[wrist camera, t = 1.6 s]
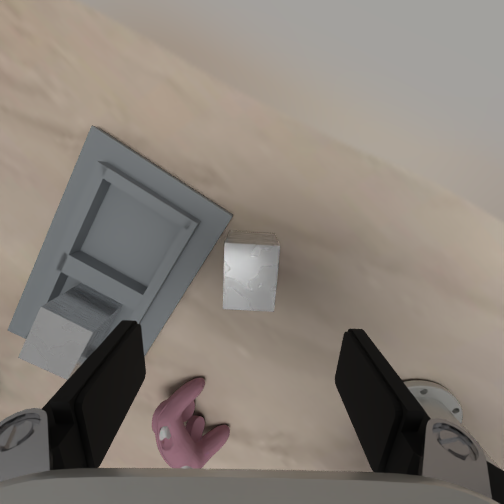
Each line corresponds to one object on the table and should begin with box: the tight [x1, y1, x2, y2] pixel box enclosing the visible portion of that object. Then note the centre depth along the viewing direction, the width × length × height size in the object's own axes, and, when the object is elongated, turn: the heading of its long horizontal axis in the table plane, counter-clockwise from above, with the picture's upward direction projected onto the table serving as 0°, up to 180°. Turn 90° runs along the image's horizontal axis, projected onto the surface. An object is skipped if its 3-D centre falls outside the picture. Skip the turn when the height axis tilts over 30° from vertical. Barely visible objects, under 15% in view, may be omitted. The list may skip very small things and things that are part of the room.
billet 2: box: [223, 231, 280, 312], centre depth 22 cm, size 4×6×5 cm
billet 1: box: [18, 283, 123, 380], centre depth 22 cm, size 4×6×5 cm
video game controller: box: [152, 378, 230, 469], centre depth 28 cm, size 10×5×7 cm, turn 19°
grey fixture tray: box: [8, 126, 233, 356], centre depth 23 cm, size 14×24×2 cm, turn 147°
